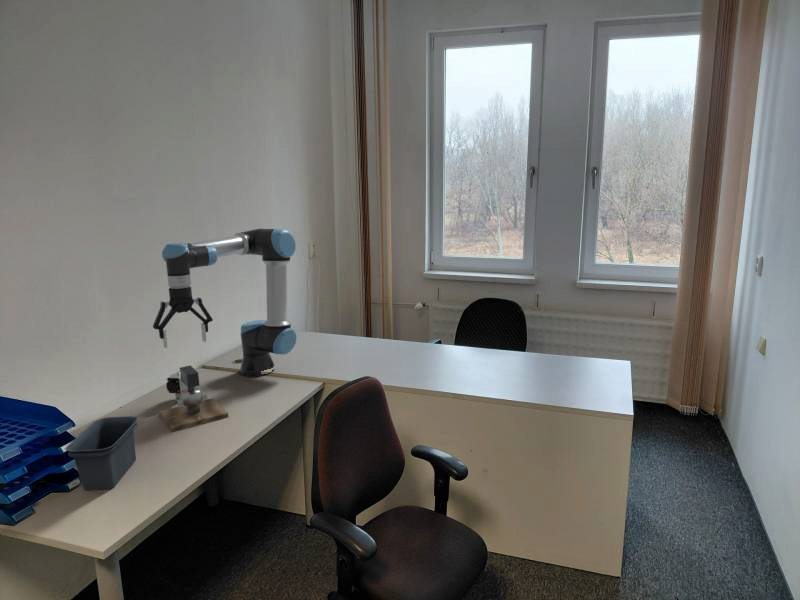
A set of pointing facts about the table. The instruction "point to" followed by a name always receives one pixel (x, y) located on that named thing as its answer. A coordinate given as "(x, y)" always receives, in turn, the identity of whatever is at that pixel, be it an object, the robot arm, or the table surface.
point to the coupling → (190, 387)
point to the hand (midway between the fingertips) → (185, 344)
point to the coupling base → (193, 414)
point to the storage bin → (104, 451)
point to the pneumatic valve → (175, 385)
